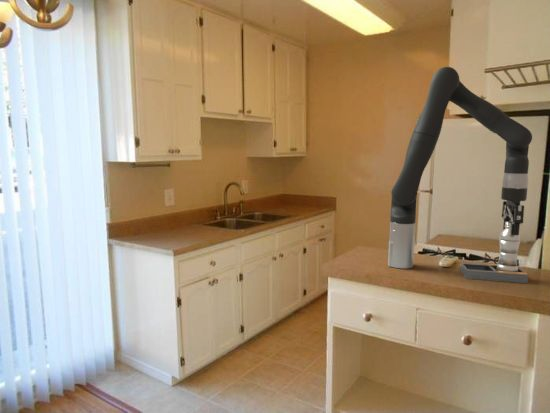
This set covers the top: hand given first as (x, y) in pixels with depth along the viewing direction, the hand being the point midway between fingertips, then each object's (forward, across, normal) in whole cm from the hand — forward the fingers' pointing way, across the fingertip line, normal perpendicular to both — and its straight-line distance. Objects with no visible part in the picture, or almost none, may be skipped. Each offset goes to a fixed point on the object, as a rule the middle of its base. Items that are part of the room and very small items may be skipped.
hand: (510, 232), depth 138 cm
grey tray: (+16, 0, -5) cm, 17 cm away
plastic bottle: (+16, 0, 0) cm, 16 cm away
